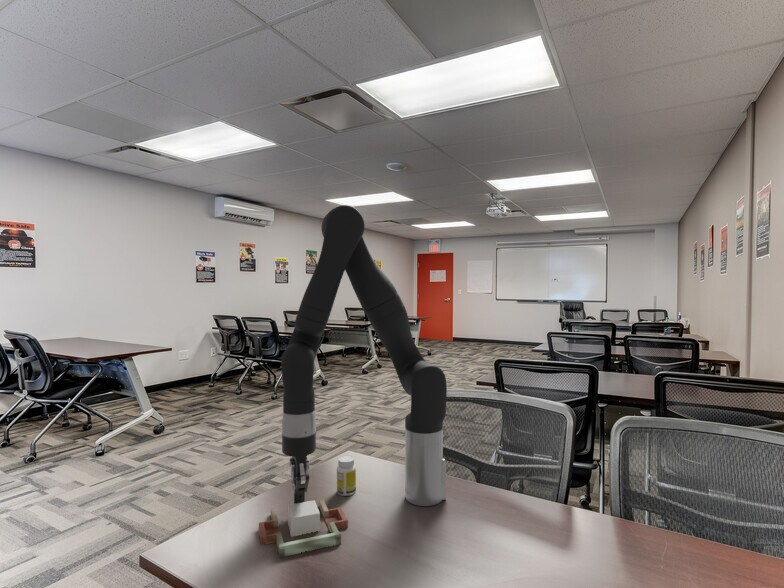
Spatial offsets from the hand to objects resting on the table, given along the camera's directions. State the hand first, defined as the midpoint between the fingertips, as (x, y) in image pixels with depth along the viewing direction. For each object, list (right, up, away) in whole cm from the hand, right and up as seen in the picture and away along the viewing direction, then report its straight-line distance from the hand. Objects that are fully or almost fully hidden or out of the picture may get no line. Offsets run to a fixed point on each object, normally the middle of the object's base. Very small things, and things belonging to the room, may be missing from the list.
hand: (299, 506), depth 97 cm
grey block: (+2, -2, -4) cm, 5 cm away
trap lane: (+2, -2, -5) cm, 6 cm away
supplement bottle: (+9, -2, +12) cm, 15 cm away
